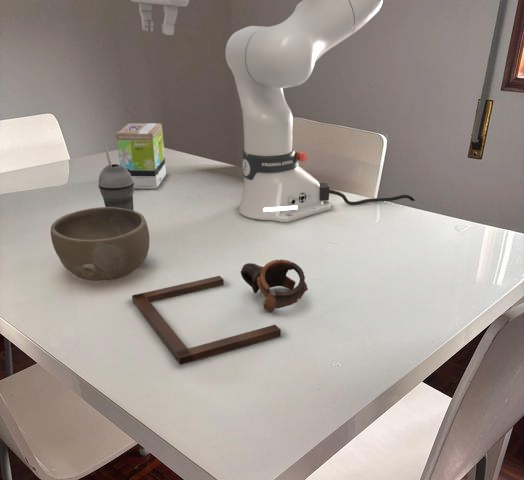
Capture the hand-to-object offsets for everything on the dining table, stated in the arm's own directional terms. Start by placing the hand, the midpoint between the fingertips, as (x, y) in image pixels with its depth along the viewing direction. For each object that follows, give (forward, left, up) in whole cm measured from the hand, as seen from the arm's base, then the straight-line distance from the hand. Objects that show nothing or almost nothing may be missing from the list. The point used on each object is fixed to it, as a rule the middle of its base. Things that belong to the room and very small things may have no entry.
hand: (157, 33), depth 106 cm
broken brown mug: (-2, +41, -39) cm, 56 cm away
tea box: (-6, -41, -39) cm, 57 cm away
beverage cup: (+12, -1, -39) cm, 41 cm away
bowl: (+20, +15, -39) cm, 46 cm away
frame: (+11, +41, -39) cm, 57 cm away
